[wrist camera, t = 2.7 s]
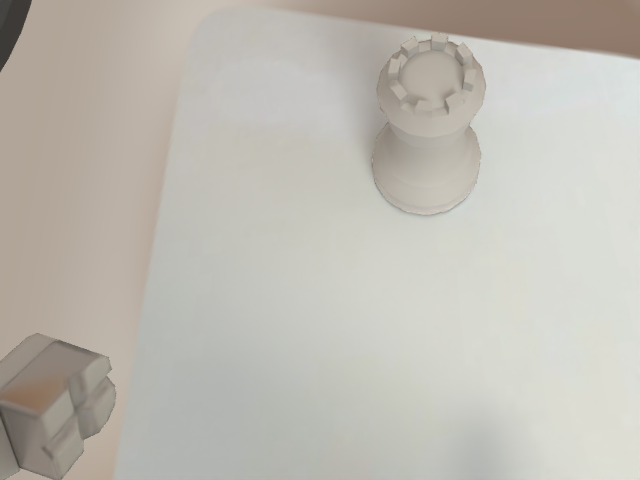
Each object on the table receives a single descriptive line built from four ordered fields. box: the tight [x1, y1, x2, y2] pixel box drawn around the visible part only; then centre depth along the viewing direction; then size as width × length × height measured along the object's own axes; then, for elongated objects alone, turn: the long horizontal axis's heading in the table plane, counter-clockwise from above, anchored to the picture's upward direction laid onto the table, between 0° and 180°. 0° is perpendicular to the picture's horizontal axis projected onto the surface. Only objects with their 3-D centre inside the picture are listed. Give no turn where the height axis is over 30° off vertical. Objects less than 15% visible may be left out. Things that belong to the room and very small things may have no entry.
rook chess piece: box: [372, 32, 486, 215], centre depth 20 cm, size 4×4×8 cm
